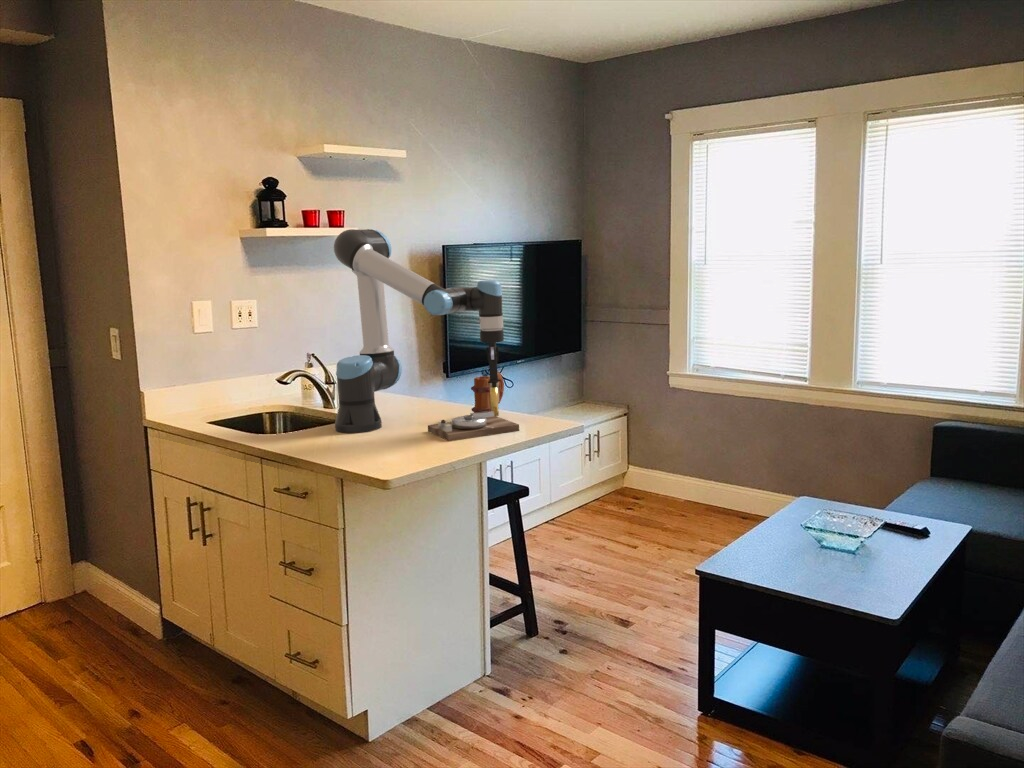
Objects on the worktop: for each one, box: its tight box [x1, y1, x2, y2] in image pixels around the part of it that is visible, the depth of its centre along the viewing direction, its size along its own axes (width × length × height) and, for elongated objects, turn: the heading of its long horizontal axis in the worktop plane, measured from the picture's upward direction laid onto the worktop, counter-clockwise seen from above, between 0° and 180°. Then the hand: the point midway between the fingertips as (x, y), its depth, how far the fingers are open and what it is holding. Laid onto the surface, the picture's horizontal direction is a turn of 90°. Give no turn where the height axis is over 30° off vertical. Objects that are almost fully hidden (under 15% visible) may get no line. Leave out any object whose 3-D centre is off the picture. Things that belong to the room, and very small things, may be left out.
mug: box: [470, 371, 505, 413], centre depth 282 cm, size 15×8×15 cm, turn 143°
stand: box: [427, 416, 520, 442], centre depth 262 cm, size 17×24×5 cm
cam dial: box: [450, 387, 500, 429], centre depth 260 cm, size 16×11×11 cm
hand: (495, 402), depth 266 cm, fingers closed
